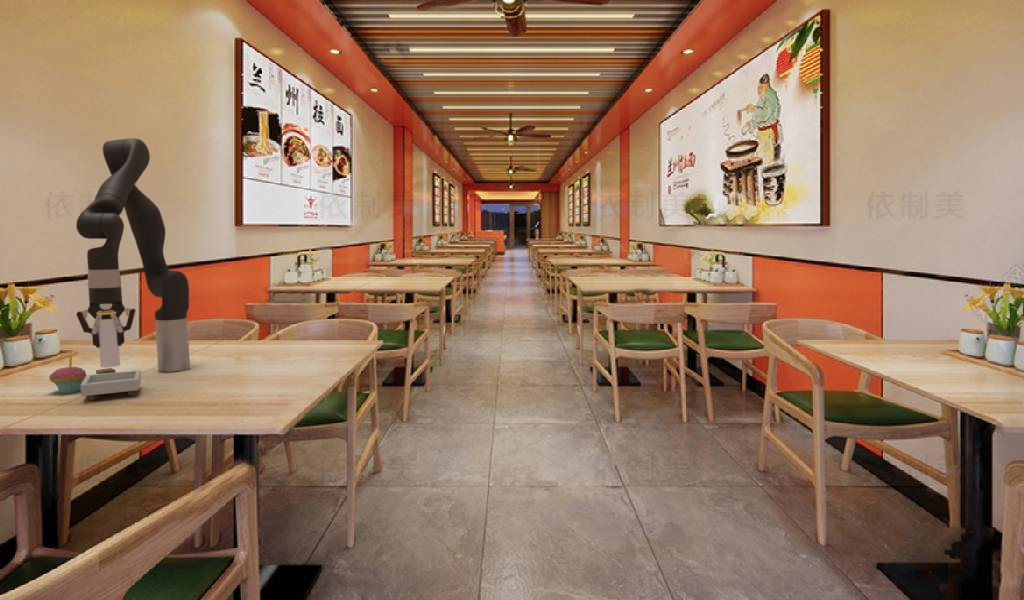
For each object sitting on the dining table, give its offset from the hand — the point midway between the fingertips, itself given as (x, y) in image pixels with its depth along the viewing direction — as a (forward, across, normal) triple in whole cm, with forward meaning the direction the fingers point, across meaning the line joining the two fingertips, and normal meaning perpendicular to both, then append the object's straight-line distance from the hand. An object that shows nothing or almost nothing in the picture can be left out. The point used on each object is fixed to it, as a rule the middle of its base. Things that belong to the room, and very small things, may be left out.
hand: (109, 346), depth 164 cm
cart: (+14, 0, 0) cm, 14 cm away
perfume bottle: (+7, 0, 0) cm, 7 cm away
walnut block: (+14, +3, -17) cm, 23 cm away
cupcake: (+14, +11, -10) cm, 21 cm away
